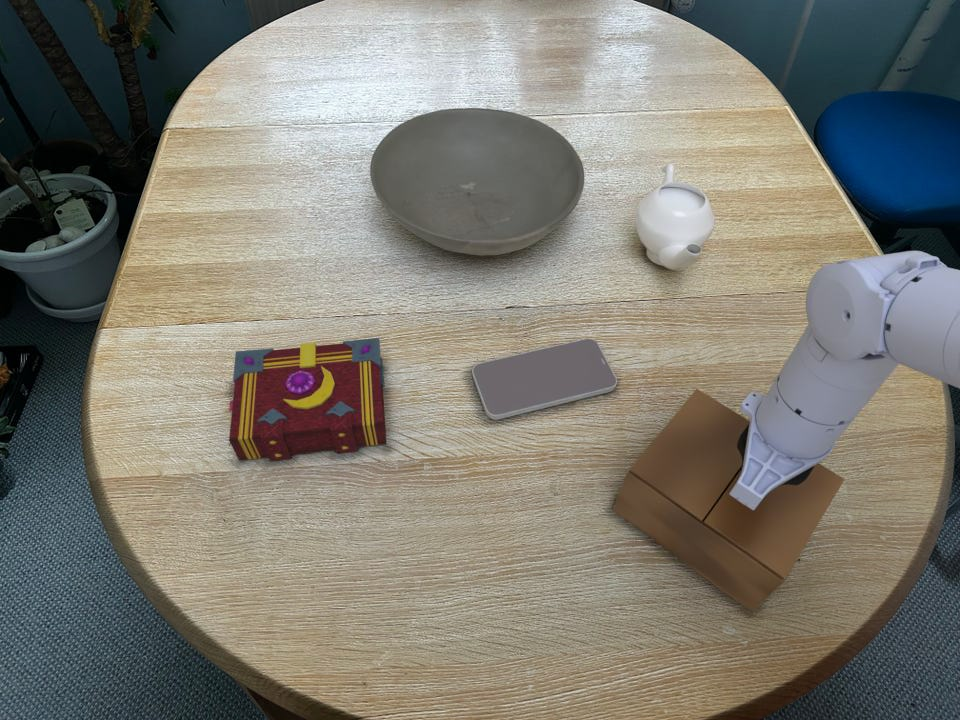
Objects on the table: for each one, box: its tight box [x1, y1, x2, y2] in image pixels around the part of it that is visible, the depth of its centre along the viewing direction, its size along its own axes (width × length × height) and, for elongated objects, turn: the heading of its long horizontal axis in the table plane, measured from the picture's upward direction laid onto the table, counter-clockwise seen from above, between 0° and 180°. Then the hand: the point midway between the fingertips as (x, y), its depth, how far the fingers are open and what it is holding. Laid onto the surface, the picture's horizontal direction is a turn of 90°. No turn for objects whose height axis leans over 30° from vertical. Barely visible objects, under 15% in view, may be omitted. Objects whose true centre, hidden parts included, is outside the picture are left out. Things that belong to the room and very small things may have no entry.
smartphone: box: [471, 337, 618, 421], centre depth 74 cm, size 7×1×15 cm
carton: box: [612, 388, 786, 613], centre depth 62 cm, size 15×12×8 cm
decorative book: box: [228, 337, 387, 462], centre depth 70 cm, size 11×16×5 cm
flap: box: [704, 462, 846, 580], centre depth 57 cm, size 7×12×1 cm, turn 139°
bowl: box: [369, 107, 585, 257], centre depth 89 cm, size 27×28×8 cm
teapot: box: [634, 162, 716, 271], centre depth 85 cm, size 10×20×9 cm, turn 178°
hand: (753, 484), depth 58 cm, fingers closed, pressing on flap
